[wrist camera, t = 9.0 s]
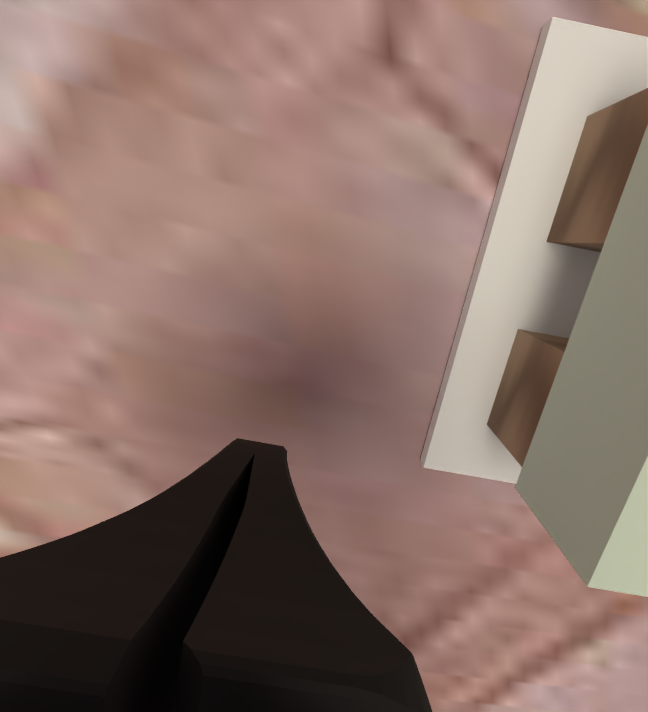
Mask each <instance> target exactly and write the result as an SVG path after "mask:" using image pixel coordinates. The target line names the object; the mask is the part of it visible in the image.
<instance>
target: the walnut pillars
mask: <svg viewBox="0 0 648 712" xmlns="http://www.w3.org/2000/svg"><path fill="white" fill-rule="evenodd" d="M647 125H648V88H646V89H644V90H642V91H640V92H638V93H636V94H634V95H632V96H629V97H627V98H625V99H623V100H621V101H619V102H617V103H614V104H612V105H610V106H608V107H606V108H604V109H602V110H600V111H597V112H595V113H593V114H591V115H589V116H587V118H586V121H585V124H584V128H583V131H582V134H581V137H580V140H579V143H578V146H577V149H576V152H575V155H574V158H573V161H572V164H571V167H570V170H569V174H568V177H567V180H566V183H565V186H564V189H563V192H562V195H561V198H560V201H559V204H558V207H557V210H556V213H555V216H554V220H553V223H552V226H551V229H550V232H549V235H548V238H547V241H546V242H550V243H555V244H560V245H565V246H570V247H575V248H581V249H586V250H591V251H596V252H601V250H602V248H603V245H604V242H605V240H606V237H607V234H608V231H609V229H610V226H611V223H612V220H613V218H614V215H615V212H616V210H617V207H618V204H619V201H620V199H621V196H622V193H623V190H624V188H625V185H626V182H627V179H628V177H629V174H630V171H631V169H632V166H633V163H634V160H635V158H636V155H637V152H638V149H639V147H640V144H641V141H642V138H643V136H644V133H645V130H646V128H647ZM568 341H569V338H564V337H558V336H553V335H548V334H542V333H537V332H531V331H526V330H521V329H518V330H517V333H516V336H515V339H514V342H513V345H512V348H511V351H510V354H509V357H508V361H507V364H506V367H505V370H504V373H503V376H502V379H501V382H500V385H499V388H498V391H497V394H496V397H495V400H494V403H493V406H492V410H491V413H490V416H489V419H488V422H487V425H488V427H489V428H490V429H491V430H492V432H493V433H494V434H495V435H496V436H497V438H498V439H499V440H500V441H501V442H502V444H503V445H504V446H505V447H506V449H507V450H508V451H509V452H510V453H511V455H512V456H513V457H514V458H515V459H516V461H517V462H518V463H519V464H520V466H521V467H522V466H523V464H524V461H525V458H526V455H527V453H528V450H529V447H530V444H531V442H532V439H533V436H534V434H535V431H536V428H537V425H538V423H539V420H540V417H541V414H542V412H543V409H544V406H545V404H546V401H547V398H548V395H549V393H550V390H551V387H552V384H553V382H554V379H555V376H556V373H557V371H558V368H559V365H560V363H561V360H562V357H563V354H564V352H565V349H566V346H567V343H568Z"/></svg>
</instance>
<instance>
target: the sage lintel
mask: <svg viewBox="0 0 648 712" xmlns="http://www.w3.org/2000/svg"><path fill="white" fill-rule="evenodd" d="M515 488H516V490H517V491H518V493H519V494H520V495H521V497H522V498H523V499H524V501H525V502H526V504H527V505H528V506H529V508H530V509H531V510H532V512H533V513H534V515H535V516H536V517H537V519H538V520H539V521H540V523H541V524H542V525H543V527H544V528H545V530H546V531H547V532H548V534H549V535H550V536H551V538H552V539H553V541H554V542H555V543H556V545H557V546H558V547H559V549H560V550H561V552H562V553H563V554H564V556H565V557H566V558H567V560H568V561H569V562H570V564H571V565H572V567H573V568H574V569H575V571H576V572H577V573H578V575H579V576H580V578H581V579H582V580H583V582H584V583H585V584H586V586H587V587H591V588H597V589H603V590H610V591H616V592H622V593H628V594H634V595H640V596H646V597H648V125H647V128H646V130H645V133H644V136H643V138H642V141H641V144H640V147H639V149H638V152H637V155H636V158H635V160H634V163H633V166H632V169H631V171H630V174H629V177H628V179H627V182H626V185H625V188H624V190H623V193H622V196H621V199H620V201H619V204H618V207H617V210H616V212H615V215H614V218H613V220H612V223H611V226H610V229H609V231H608V234H607V237H606V240H605V242H604V245H603V248H602V250H601V253H600V256H599V259H598V261H597V264H596V267H595V270H594V272H593V275H592V278H591V281H590V283H589V286H588V289H587V291H586V294H585V297H584V300H583V302H582V305H581V308H580V311H579V313H578V316H577V319H576V322H575V324H574V327H573V330H572V332H571V335H570V338H569V341H568V343H567V346H566V349H565V352H564V354H563V357H562V360H561V363H560V365H559V368H558V371H557V373H556V376H555V379H554V382H553V384H552V387H551V390H550V393H549V395H548V398H547V401H546V404H545V406H544V409H543V412H542V414H541V417H540V420H539V423H538V425H537V428H536V431H535V434H534V436H533V439H532V442H531V444H530V447H529V450H528V453H527V455H526V458H525V461H524V464H523V466H522V469H521V472H520V475H519V477H518V480H517V483H516V485H515Z"/></svg>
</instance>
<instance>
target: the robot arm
mask: <svg viewBox="0 0 648 712" xmlns="http://www.w3.org/2000/svg"><path fill="white" fill-rule="evenodd" d="M0 712H432V709H431V706H430V703H429V700H428V697H427V694H426V691H425V688H424V685H423V682H422V679H421V676H420V673H419V671H418V668H417V665H416V662H415V660H414V657H413V655H412V653H411V652H410V651H409V650H408V649H407V648H406V647H405V646H404V645H403V644H402V643H401V642H400V641H399V640H398V639H397V638H396V637H395V636H394V635H393V634H392V633H391V632H390V631H389V630H388V629H386V628H385V627H384V626H383V625H382V624H381V623H380V622H379V621H378V620H377V619H376V618H375V617H374V616H373V615H372V614H371V613H370V612H369V610H368V609H367V608H366V607H365V606H364V605H363V604H362V602H361V601H360V600H359V599H358V598H357V597H356V596H355V594H354V593H353V592H352V591H351V589H350V588H349V587H348V585H347V584H346V583H345V581H344V580H343V579H342V577H341V576H340V575H339V573H338V572H337V571H336V569H335V568H334V567H333V565H332V564H331V562H330V561H329V559H328V557H327V556H326V554H325V553H324V551H323V550H322V548H321V546H320V544H319V543H318V541H317V539H316V537H315V536H314V534H313V532H312V530H311V528H310V526H309V524H308V522H307V520H306V517H305V515H304V513H303V511H302V508H301V506H300V503H299V501H298V498H297V495H296V492H295V489H294V486H293V483H292V480H291V477H290V473H289V468H288V463H287V451H286V449H285V448H284V446H278V445H272V444H267V443H261V442H255V441H250V440H244V439H238V438H237V439H236V440H234V441H232V442H231V443H230V444H229V445H228V446H226V447H225V448H224V449H223V450H222V451H220V452H219V453H218V454H217V455H215V456H214V457H213V458H211V459H210V460H209V461H208V462H206V463H205V464H204V465H202V466H201V467H199V468H198V469H197V470H195V471H194V472H193V473H191V474H190V475H188V476H187V477H186V478H184V479H182V480H181V481H179V482H178V483H176V484H175V485H173V486H172V487H170V488H169V489H167V490H165V491H164V492H162V493H161V494H159V495H157V496H156V497H154V498H152V499H150V500H148V501H146V502H144V503H142V504H140V505H139V506H137V507H135V508H133V509H131V510H129V511H127V512H124V513H122V514H120V515H118V516H115V517H113V518H111V519H108V520H106V521H104V522H101V523H99V524H97V525H94V526H92V527H89V528H87V529H85V530H82V531H80V532H77V533H75V534H72V535H69V536H66V537H63V538H61V539H58V540H55V541H52V542H49V543H46V544H43V545H40V546H37V547H34V548H31V549H28V550H25V551H21V552H18V553H15V554H11V555H8V556H5V557H1V558H0Z"/></svg>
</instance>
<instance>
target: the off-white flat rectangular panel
mask: <svg viewBox="0 0 648 712" xmlns="http://www.w3.org/2000/svg"><path fill="white" fill-rule="evenodd" d="M646 88H648V37H645V36H640V35H635V34H631V33H626V32H621V31H617V30H612V29H607V28H603V27H598V26H593V25H589V24H584V23H579V22H575V21H570V20H565V19H561V18H556V17H552V18H551V19H550V20H549V21H548V22H547V23H546V24H545V25H544V26H543V27H542V31H541V34H540V38H539V41H538V45H537V48H536V52H535V55H534V59H533V62H532V66H531V69H530V73H529V77H528V80H527V84H526V87H525V91H524V94H523V98H522V101H521V105H520V108H519V112H518V115H517V119H516V123H515V126H514V130H513V133H512V137H511V140H510V144H509V147H508V151H507V154H506V158H505V161H504V165H503V169H502V172H501V176H500V179H499V183H498V186H497V190H496V193H495V197H494V200H493V204H492V207H491V211H490V215H489V218H488V222H487V225H486V229H485V232H484V236H483V239H482V243H481V246H480V250H479V253H478V257H477V260H476V264H475V268H474V271H473V275H472V278H471V282H470V285H469V289H468V292H467V296H466V299H465V303H464V306H463V310H462V314H461V317H460V321H459V324H458V328H457V331H456V335H455V338H454V342H453V345H452V349H451V352H450V356H449V360H448V363H447V367H446V370H445V374H444V377H443V381H442V384H441V388H440V391H439V395H438V398H437V402H436V405H435V409H434V413H433V416H432V420H431V423H430V427H429V430H428V434H427V437H426V441H425V444H424V448H423V451H422V455H421V459H420V460H421V463H422V465H423V468H428V469H434V470H440V471H445V472H451V473H457V474H463V475H469V476H474V477H480V478H486V479H492V480H498V481H503V482H509V483H515V484H516V483H517V480H518V477H519V475H520V472H521V469H522V467H521V466H520V464H519V463H518V462H517V461H516V459H515V458H514V457H513V456H512V455H511V453H510V452H509V451H508V450H507V449H506V447H505V446H504V445H503V444H502V442H501V441H500V440H499V439H498V438H497V436H496V435H495V434H494V433H493V432H492V430H491V429H490V428H489V427H488V425H487V422H488V419H489V416H490V413H491V410H492V406H493V403H494V400H495V397H496V394H497V391H498V388H499V385H500V382H501V379H502V376H503V373H504V370H505V367H506V364H507V361H508V357H509V354H510V351H511V348H512V345H513V342H514V339H515V336H516V333H517V330H518V329H521V330H526V331H531V332H537V333H542V334H548V335H553V336H558V337H564V338H570V335H571V332H572V330H573V327H574V324H575V322H576V319H577V316H578V313H579V311H580V308H581V305H582V302H583V300H584V297H585V294H586V291H587V289H588V286H589V283H590V281H591V278H592V275H593V272H594V270H595V267H596V264H597V261H598V259H599V256H600V253H601V252H596V251H591V250H586V249H581V248H575V247H570V246H565V245H560V244H555V243H550V242H546V241H547V238H548V235H549V232H550V229H551V226H552V223H553V220H554V216H555V213H556V210H557V207H558V204H559V201H560V198H561V195H562V192H563V189H564V186H565V183H566V180H567V177H568V174H569V170H570V167H571V164H572V161H573V158H574V155H575V152H576V149H577V146H578V143H579V140H580V137H581V134H582V131H583V128H584V124H585V121H586V118H587V116H589V115H591V114H593V113H595V112H597V111H600V110H602V109H604V108H606V107H608V106H610V105H612V104H614V103H617V102H619V101H621V100H623V99H625V98H627V97H629V96H632V95H634V94H636V93H638V92H640V91H642V90H644V89H646Z"/></svg>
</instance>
